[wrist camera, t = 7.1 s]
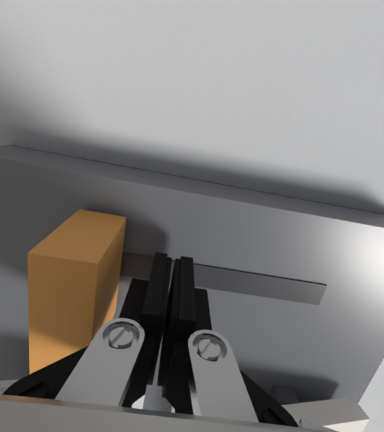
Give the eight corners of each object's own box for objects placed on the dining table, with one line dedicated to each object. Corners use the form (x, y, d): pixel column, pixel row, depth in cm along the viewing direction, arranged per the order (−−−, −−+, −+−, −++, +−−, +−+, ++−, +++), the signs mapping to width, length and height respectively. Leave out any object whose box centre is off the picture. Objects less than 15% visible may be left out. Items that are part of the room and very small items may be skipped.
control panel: (402, 218, 15) (471, 249, 12) (310, 407, 21) (337, 471, 17) (8, 145, 14) (-60, 154, 10) (16, 373, 19) (-26, 436, 15)
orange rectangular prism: (126, 216, 12) (97, 263, 8) (115, 309, 13) (87, 385, 9) (79, 209, 11) (27, 252, 8) (74, 304, 13) (29, 378, 9)
